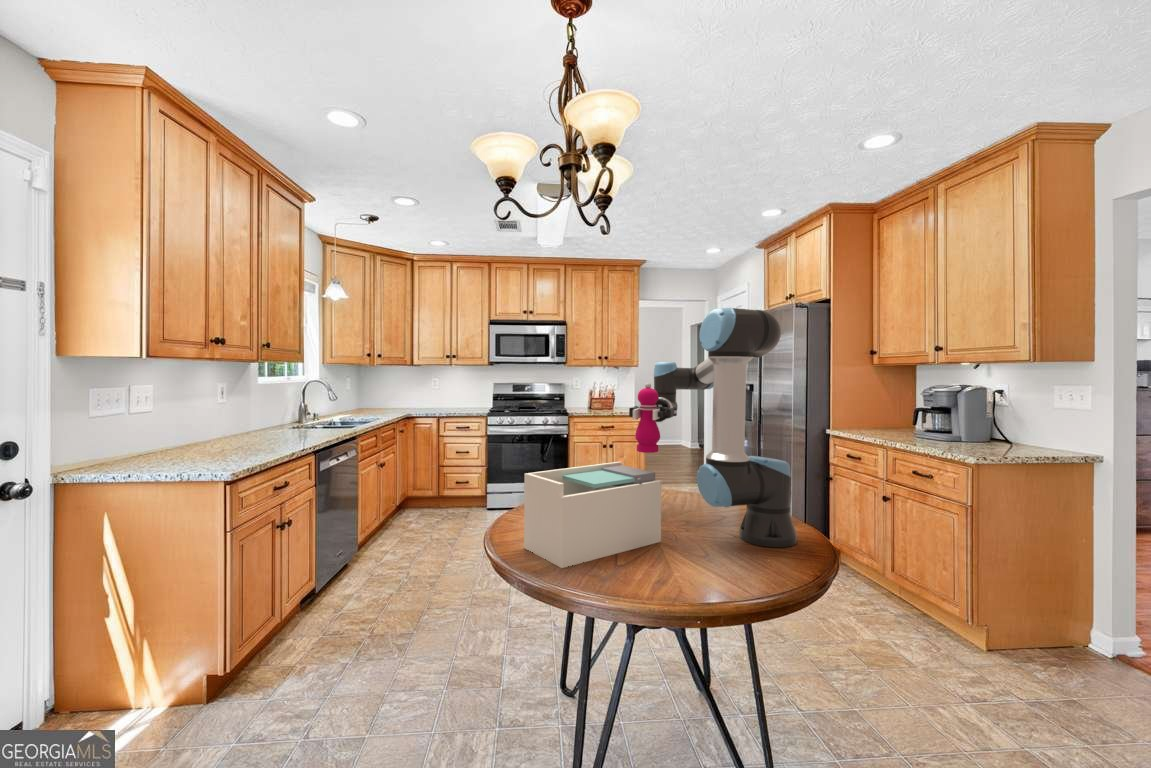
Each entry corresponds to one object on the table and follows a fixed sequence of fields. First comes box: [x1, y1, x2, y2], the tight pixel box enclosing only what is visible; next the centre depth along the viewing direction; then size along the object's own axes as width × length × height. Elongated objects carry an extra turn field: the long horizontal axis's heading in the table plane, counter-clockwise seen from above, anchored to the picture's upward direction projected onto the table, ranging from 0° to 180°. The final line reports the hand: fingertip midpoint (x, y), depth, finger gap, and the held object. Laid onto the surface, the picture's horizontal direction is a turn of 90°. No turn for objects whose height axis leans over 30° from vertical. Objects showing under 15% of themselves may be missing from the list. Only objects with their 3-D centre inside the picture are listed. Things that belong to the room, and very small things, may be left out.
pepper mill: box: [634, 382, 661, 454], centre depth 148 cm, size 7×7×20 cm
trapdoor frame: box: [523, 461, 662, 569], centre depth 139 cm, size 19×34×20 cm, turn 127°
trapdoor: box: [563, 464, 656, 488], centre depth 142 cm, size 14×22×4 cm, turn 127°
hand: (644, 414), depth 143 cm, fingers closed on pepper mill, 5 cm apart
